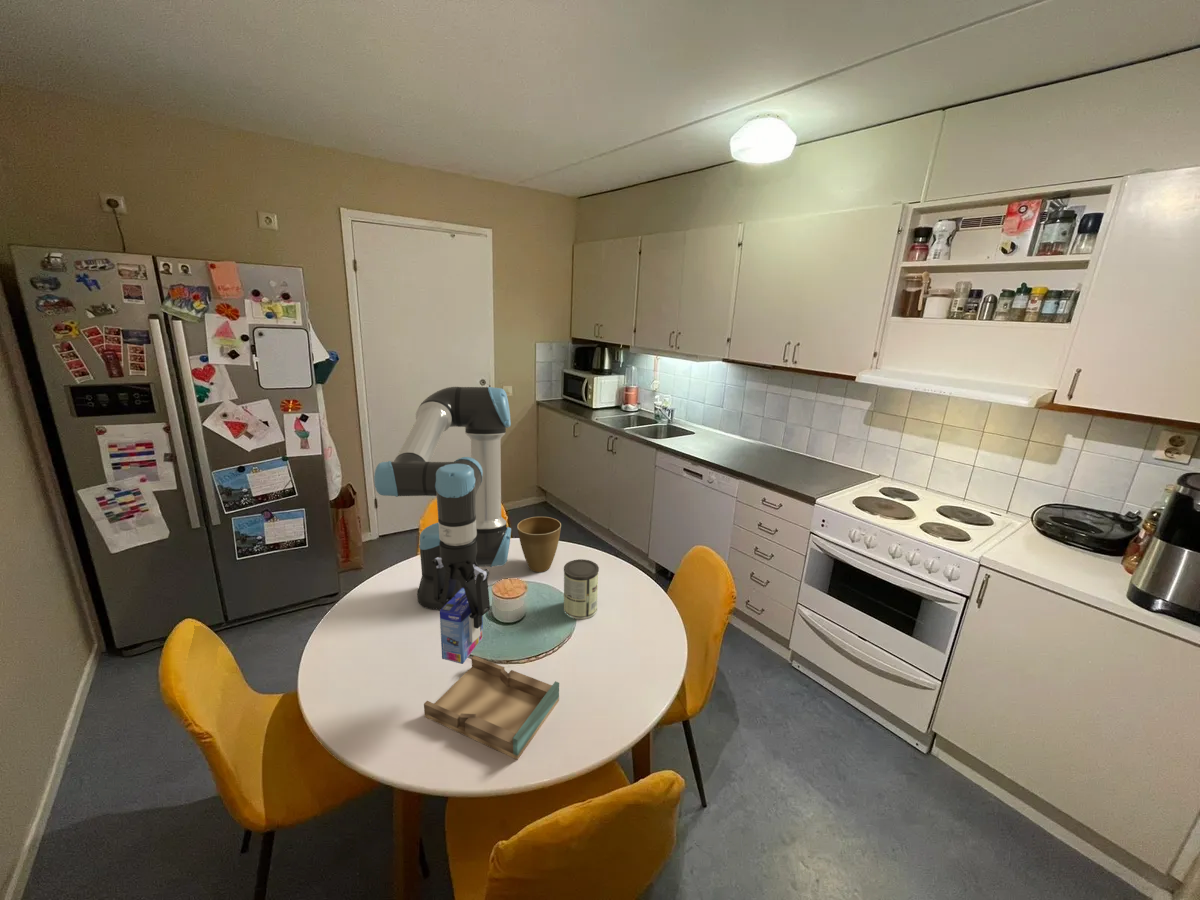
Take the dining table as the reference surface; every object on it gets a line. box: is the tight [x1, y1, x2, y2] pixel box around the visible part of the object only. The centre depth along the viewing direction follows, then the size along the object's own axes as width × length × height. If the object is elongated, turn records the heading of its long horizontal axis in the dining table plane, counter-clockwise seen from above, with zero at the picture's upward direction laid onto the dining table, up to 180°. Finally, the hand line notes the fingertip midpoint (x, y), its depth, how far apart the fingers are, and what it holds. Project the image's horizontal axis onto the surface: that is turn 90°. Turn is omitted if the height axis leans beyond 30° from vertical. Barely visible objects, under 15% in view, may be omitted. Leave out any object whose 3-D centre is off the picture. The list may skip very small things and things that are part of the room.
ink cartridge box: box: [439, 588, 484, 664], centre depth 105 cm, size 10×6×14 cm, turn 167°
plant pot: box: [516, 516, 562, 573], centre depth 166 cm, size 15×15×16 cm
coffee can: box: [563, 558, 600, 620], centre depth 143 cm, size 10×10×14 cm
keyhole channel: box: [423, 655, 560, 761], centre depth 107 cm, size 24×17×5 cm
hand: (462, 633), depth 106 cm, fingers closed on ink cartridge box, 6 cm apart
